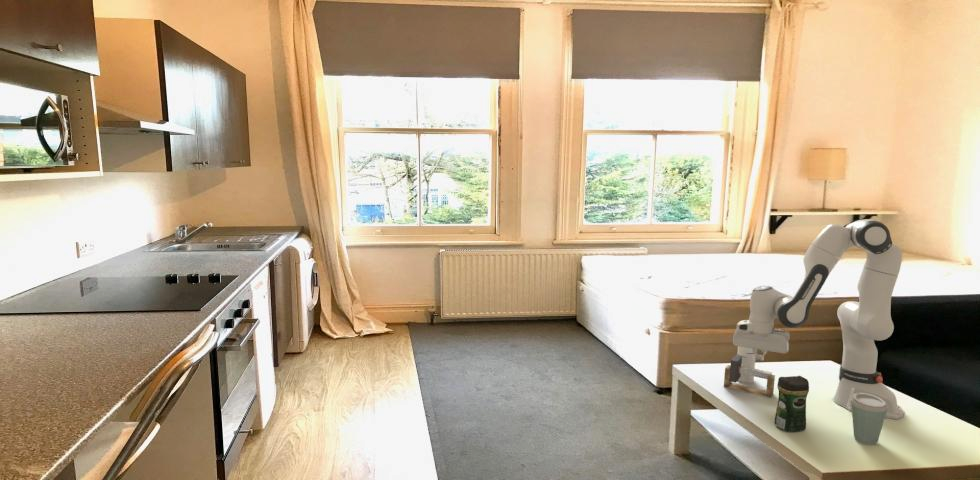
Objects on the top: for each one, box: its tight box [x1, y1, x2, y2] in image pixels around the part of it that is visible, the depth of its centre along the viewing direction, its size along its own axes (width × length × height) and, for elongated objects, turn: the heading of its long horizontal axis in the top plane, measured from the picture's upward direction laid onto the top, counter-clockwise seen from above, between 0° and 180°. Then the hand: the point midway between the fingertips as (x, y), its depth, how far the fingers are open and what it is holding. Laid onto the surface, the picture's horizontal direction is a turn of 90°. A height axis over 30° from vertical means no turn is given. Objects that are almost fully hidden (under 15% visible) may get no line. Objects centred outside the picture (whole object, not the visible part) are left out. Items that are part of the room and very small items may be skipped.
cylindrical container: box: [736, 319, 756, 383], centre depth 242 cm, size 7×7×25 cm
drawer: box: [723, 364, 776, 398], centre depth 231 cm, size 18×4×8 cm, turn 54°
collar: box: [729, 354, 742, 383], centre depth 234 cm, size 2×8×9 cm, turn 144°
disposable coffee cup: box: [850, 393, 888, 446], centre depth 190 cm, size 11×11×15 cm
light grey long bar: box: [728, 363, 773, 380], centre depth 231 cm, size 16×3×3 cm, turn 54°
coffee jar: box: [774, 375, 810, 433], centre depth 199 cm, size 10×8×19 cm
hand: (759, 359), depth 229 cm, fingers closed
